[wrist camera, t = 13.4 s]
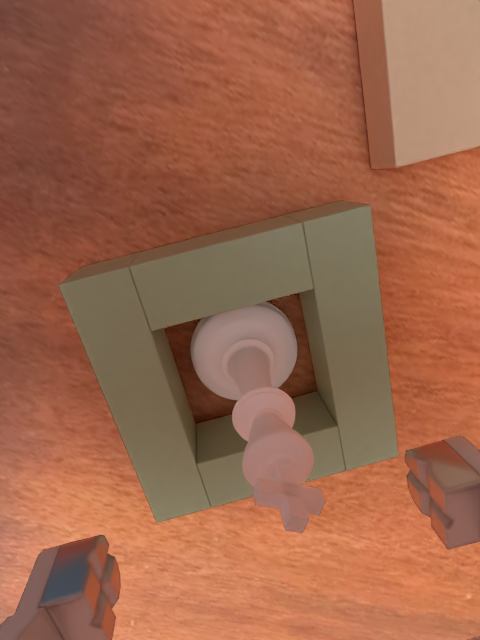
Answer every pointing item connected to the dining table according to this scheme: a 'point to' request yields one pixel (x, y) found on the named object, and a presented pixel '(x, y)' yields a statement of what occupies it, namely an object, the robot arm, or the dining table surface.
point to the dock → (225, 295)
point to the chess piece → (260, 403)
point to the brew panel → (419, 78)
